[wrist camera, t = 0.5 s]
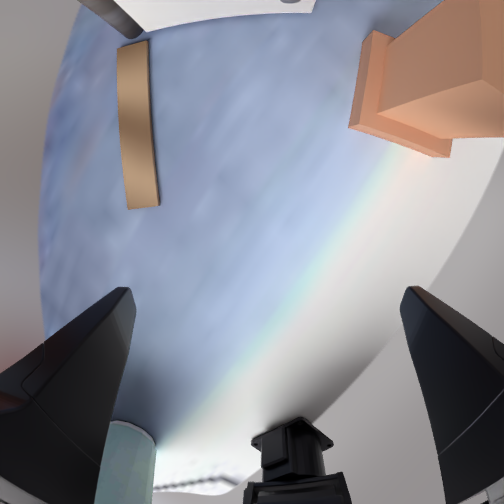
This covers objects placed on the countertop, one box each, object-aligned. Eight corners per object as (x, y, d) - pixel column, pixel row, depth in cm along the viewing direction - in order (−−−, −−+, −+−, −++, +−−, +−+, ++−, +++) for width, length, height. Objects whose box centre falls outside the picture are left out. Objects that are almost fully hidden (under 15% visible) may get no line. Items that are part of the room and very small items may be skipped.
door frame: (124, -31, 15) (71, -90, 5) (150, -39, 15) (105, -105, 5) (130, 208, 21) (46, 245, 12) (159, 205, 21) (86, 241, 11)
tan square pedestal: (431, 156, 19) (567, 170, 7) (348, 127, 19) (457, 93, 7) (442, 75, 17) (561, 37, 5) (362, 42, 17) (451, -50, 5)
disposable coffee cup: (149, 406, 27) (100, 529, 12) (189, 464, 30) (167, 567, 15) (75, 406, 28) (19, 499, 14) (119, 461, 31) (86, 547, 16)
